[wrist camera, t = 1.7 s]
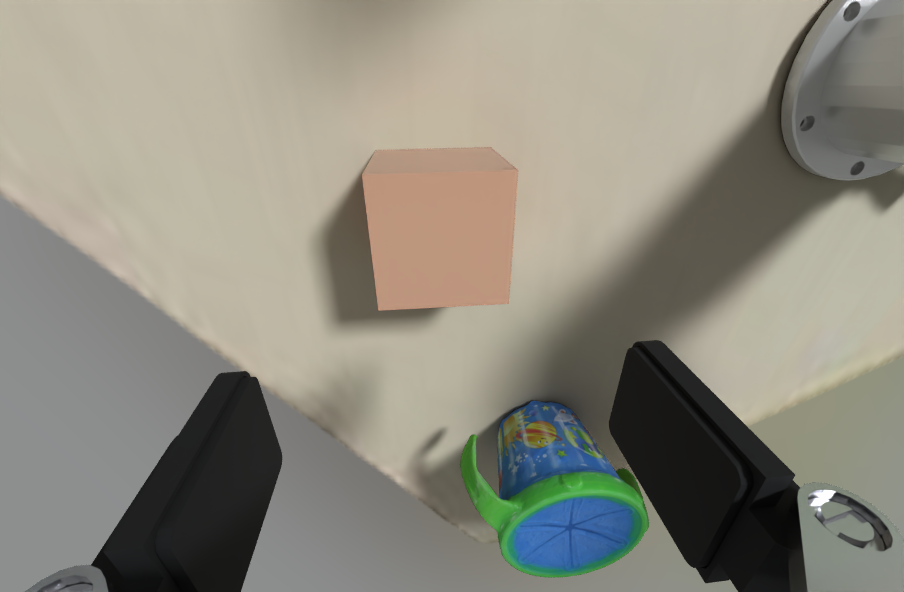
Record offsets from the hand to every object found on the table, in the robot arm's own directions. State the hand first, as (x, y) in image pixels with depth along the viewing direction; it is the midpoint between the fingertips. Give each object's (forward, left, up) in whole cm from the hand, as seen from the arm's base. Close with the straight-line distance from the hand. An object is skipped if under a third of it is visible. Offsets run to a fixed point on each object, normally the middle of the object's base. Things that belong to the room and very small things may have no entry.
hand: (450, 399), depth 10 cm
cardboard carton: (0, 0, -17) cm, 17 cm away
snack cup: (-18, +14, -18) cm, 29 cm away
